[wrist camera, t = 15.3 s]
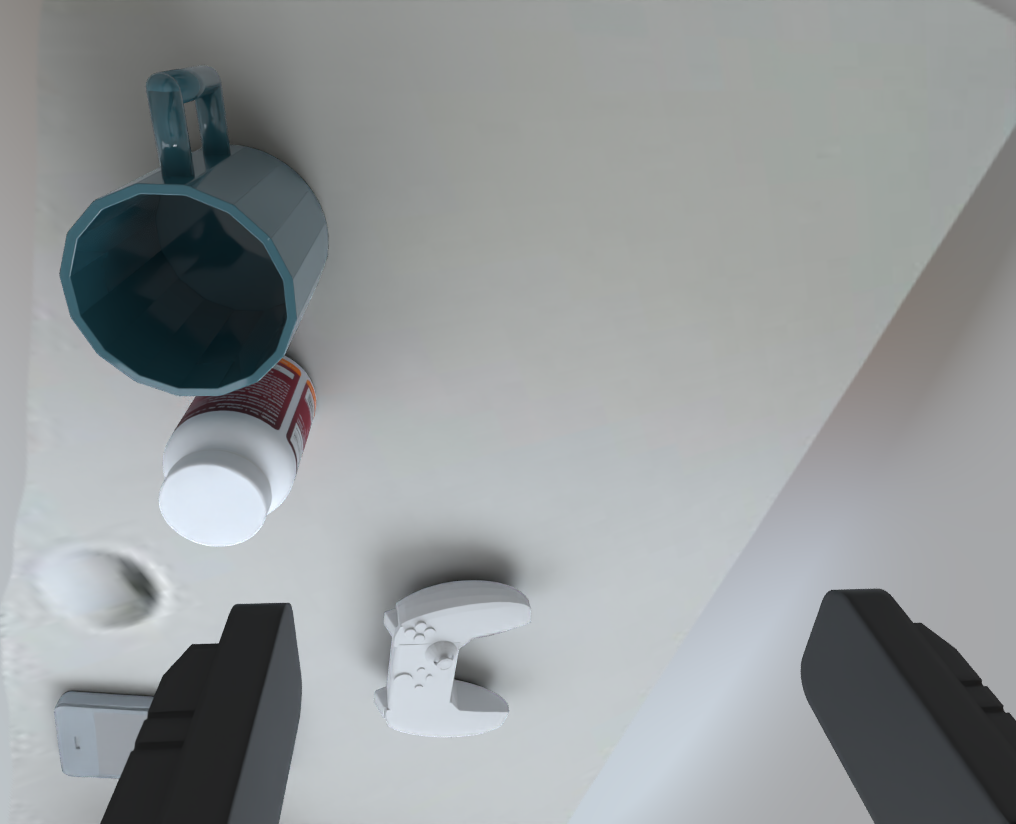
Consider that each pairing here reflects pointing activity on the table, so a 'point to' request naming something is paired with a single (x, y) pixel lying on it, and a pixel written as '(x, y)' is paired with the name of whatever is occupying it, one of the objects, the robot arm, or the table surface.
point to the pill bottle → (237, 457)
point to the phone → (98, 731)
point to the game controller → (445, 657)
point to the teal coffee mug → (196, 254)
